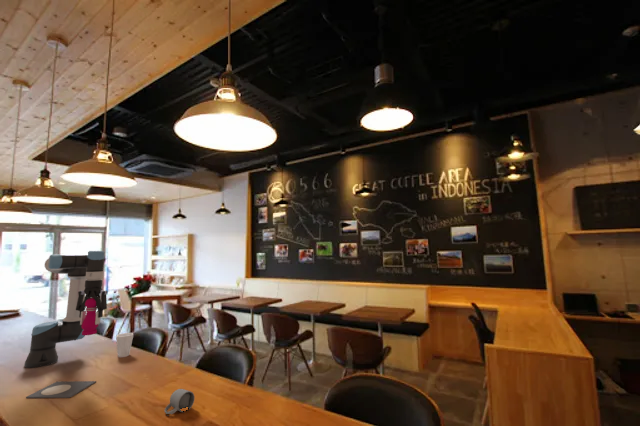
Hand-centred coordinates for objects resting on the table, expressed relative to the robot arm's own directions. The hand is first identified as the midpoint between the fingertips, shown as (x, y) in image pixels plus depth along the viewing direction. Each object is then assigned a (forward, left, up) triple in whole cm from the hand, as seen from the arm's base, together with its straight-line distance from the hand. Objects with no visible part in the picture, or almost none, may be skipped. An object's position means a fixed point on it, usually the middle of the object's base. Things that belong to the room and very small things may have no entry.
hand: (90, 323), depth 163 cm
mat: (-4, -9, -29) cm, 31 cm away
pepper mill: (0, 0, -5) cm, 5 cm away
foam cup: (-5, +41, -29) cm, 51 cm away
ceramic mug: (+61, -30, -29) cm, 74 cm away
